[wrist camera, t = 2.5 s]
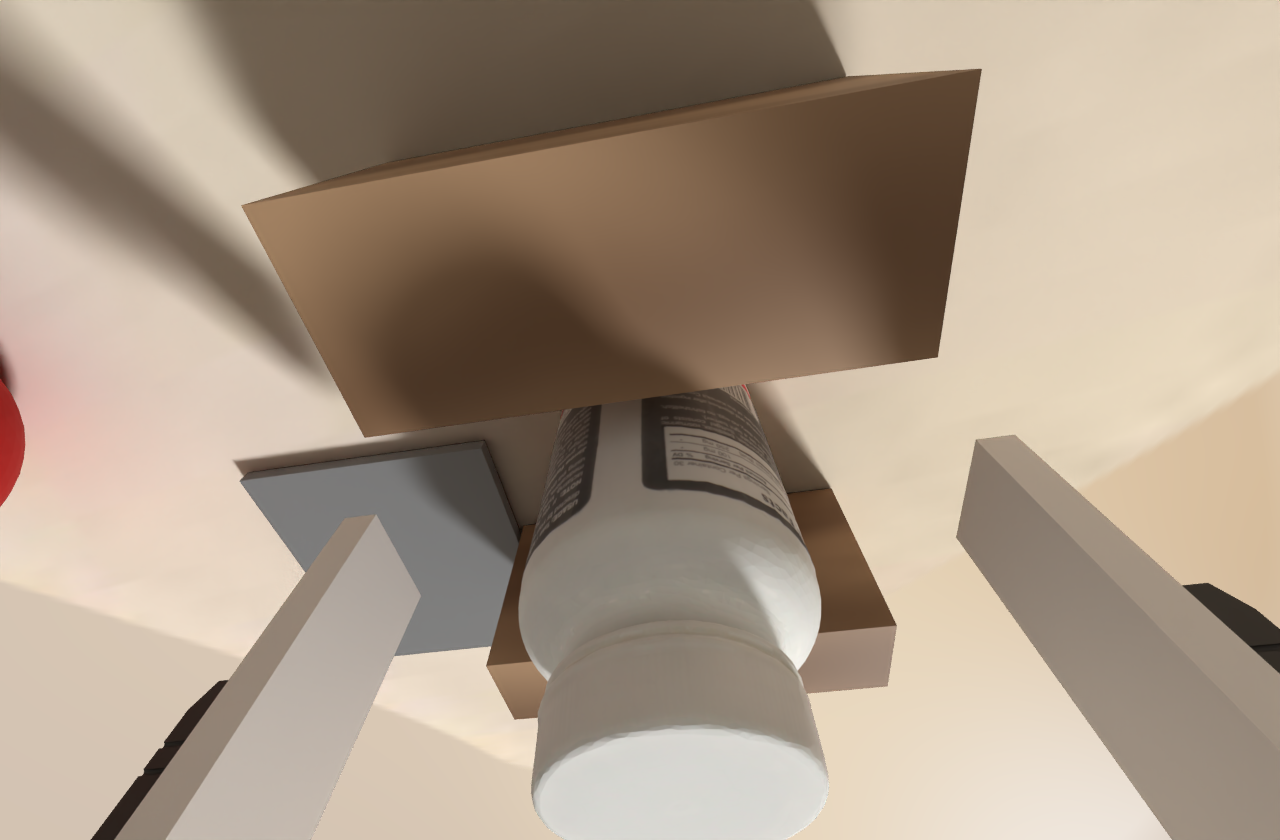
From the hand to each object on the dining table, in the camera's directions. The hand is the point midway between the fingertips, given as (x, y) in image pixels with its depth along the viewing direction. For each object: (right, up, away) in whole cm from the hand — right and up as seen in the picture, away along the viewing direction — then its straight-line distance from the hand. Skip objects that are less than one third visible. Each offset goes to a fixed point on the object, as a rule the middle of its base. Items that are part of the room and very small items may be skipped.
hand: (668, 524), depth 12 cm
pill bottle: (0, +3, +3) cm, 4 cm away
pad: (-8, -3, +6) cm, 11 cm away
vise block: (0, +2, +3) cm, 4 cm away
